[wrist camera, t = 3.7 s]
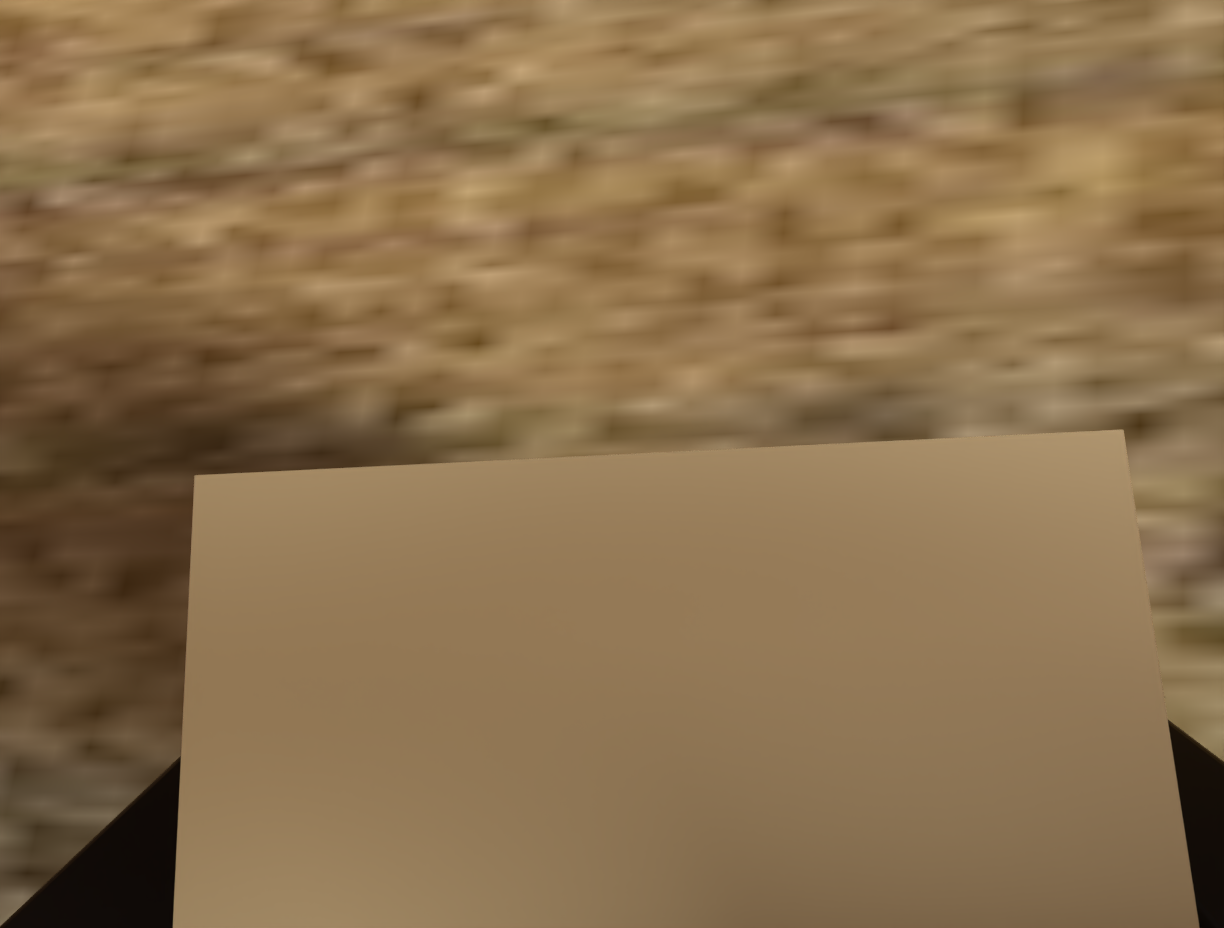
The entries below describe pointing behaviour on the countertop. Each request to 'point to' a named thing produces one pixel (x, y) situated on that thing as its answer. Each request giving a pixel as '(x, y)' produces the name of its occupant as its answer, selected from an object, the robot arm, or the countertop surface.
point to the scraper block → (680, 693)
